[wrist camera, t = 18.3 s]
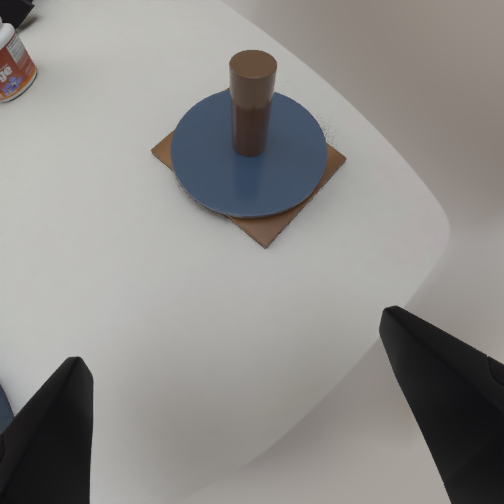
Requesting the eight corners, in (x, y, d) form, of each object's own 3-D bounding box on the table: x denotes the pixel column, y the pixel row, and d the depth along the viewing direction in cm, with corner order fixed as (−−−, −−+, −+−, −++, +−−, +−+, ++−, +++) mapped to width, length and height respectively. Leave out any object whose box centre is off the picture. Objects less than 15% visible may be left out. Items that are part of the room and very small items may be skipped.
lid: (321, 232, 22) (366, 168, 14) (156, 211, 22) (114, 139, 14) (324, 106, 26) (351, 27, 17) (191, 91, 26) (178, 9, 17)
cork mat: (345, 161, 25) (347, 158, 24) (265, 249, 22) (265, 247, 22) (236, 85, 27) (236, 82, 26) (151, 153, 24) (150, 150, 24)
